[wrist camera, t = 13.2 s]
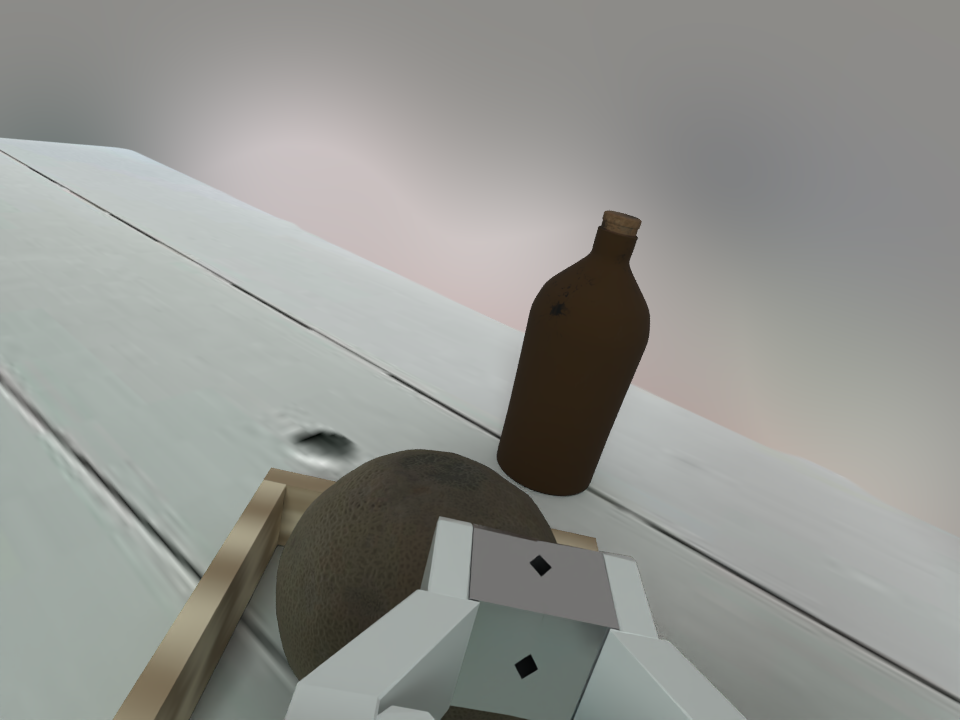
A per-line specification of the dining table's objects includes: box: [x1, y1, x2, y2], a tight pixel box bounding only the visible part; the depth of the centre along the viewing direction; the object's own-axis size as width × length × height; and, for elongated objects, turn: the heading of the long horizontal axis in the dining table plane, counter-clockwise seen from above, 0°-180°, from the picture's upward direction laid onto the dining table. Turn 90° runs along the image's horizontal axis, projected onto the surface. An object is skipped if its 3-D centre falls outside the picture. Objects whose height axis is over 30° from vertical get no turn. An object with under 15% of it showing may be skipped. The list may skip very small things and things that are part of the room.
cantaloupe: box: [276, 449, 557, 720], centre depth 32 cm, size 14×14×15 cm
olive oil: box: [497, 211, 650, 496], centre depth 58 cm, size 11×11×25 cm
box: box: [113, 468, 598, 720], centre depth 36 cm, size 20×23×5 cm
